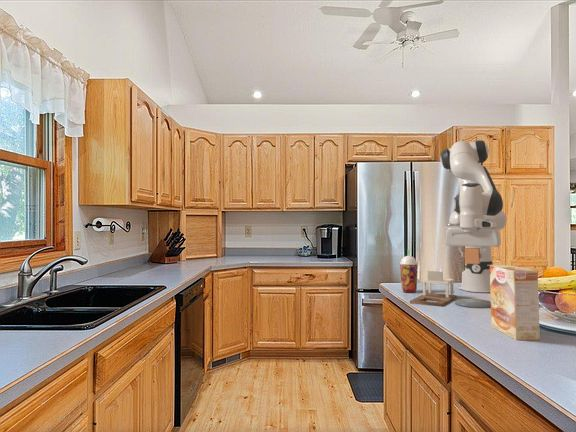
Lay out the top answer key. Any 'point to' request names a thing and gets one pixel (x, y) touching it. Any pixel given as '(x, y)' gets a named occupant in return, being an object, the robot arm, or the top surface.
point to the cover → (437, 278)
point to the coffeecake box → (515, 301)
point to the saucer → (473, 303)
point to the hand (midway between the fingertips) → (472, 257)
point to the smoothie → (408, 274)
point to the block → (472, 255)
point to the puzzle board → (433, 299)
